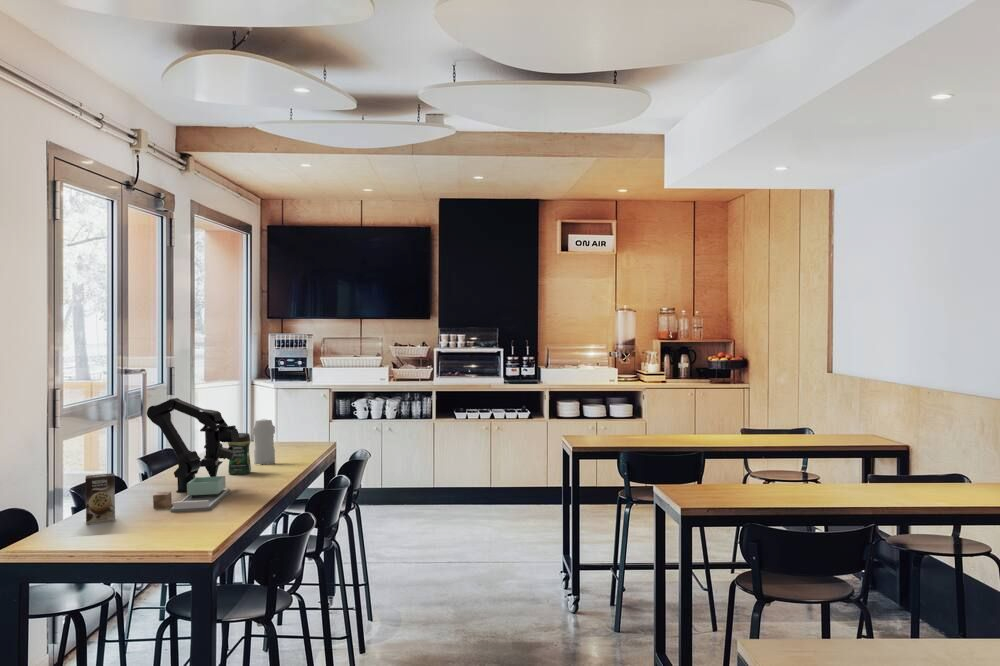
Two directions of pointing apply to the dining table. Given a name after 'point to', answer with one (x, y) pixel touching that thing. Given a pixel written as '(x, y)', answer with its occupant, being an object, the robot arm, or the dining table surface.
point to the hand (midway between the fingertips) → (213, 480)
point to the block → (162, 500)
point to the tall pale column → (264, 442)
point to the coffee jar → (240, 455)
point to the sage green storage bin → (206, 485)
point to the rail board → (199, 502)
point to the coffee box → (100, 498)
